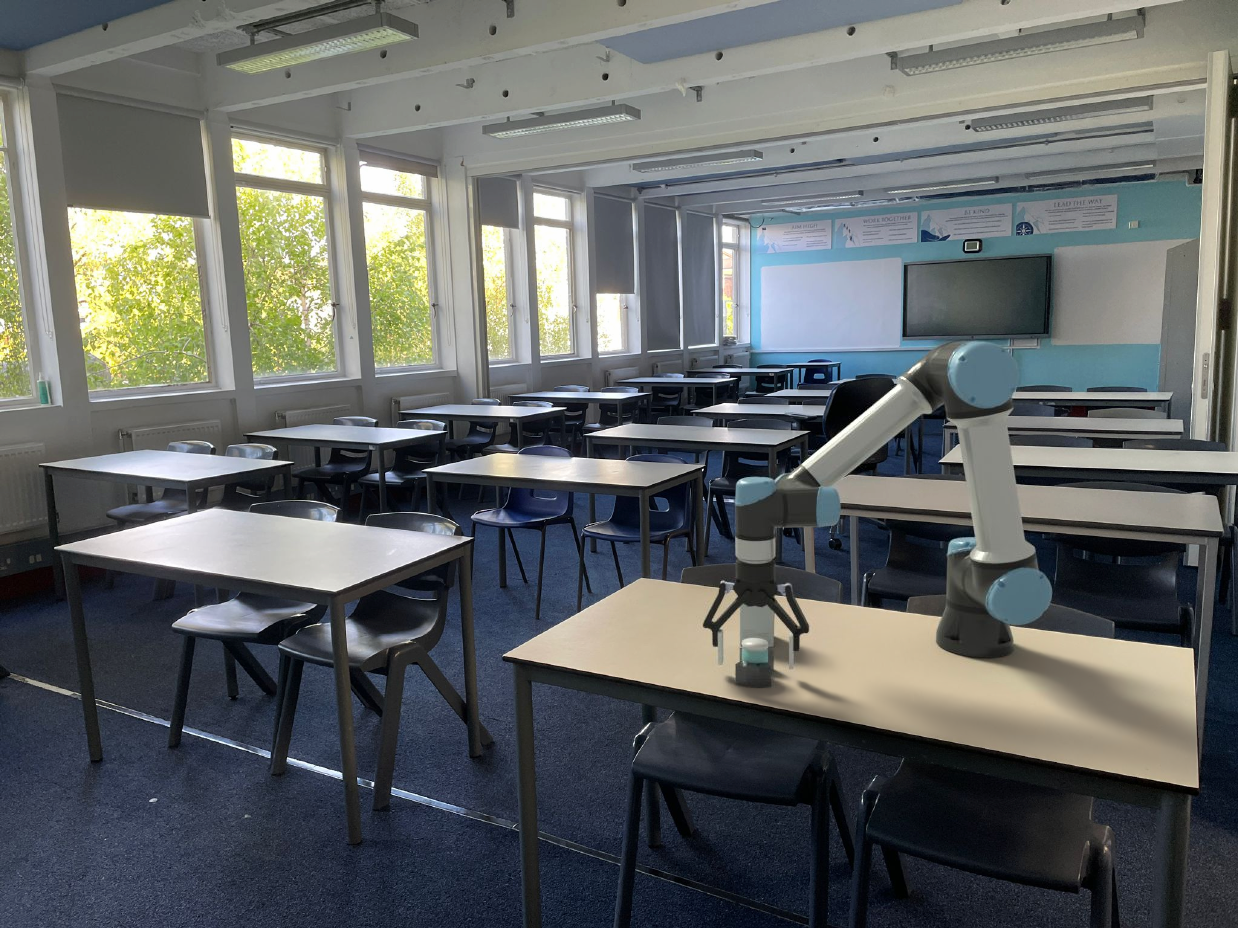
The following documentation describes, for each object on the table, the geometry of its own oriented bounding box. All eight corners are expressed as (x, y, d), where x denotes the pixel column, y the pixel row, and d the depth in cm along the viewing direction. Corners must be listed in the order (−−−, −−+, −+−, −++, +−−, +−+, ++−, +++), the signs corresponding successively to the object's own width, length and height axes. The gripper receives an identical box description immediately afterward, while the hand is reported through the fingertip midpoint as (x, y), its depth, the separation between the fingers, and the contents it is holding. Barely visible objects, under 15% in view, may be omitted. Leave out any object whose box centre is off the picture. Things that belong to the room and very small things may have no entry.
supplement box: (774, 647, 183) (774, 590, 181) (739, 645, 185) (739, 588, 183) (774, 635, 190) (775, 580, 189) (741, 633, 192) (741, 579, 190)
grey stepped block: (773, 666, 173) (774, 647, 172) (770, 688, 162) (771, 668, 162) (740, 664, 174) (740, 645, 173) (734, 685, 164) (734, 665, 163)
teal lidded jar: (768, 672, 170) (768, 638, 169) (767, 682, 165) (767, 647, 164) (743, 670, 171) (743, 637, 170) (740, 680, 166) (740, 646, 165)
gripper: (822, 555, 165) (821, 660, 168) (693, 551, 171) (694, 653, 174) (822, 565, 158) (821, 675, 161) (687, 561, 164) (689, 667, 167)
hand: (755, 664), depth 168 cm, fingers open, 13 cm apart
